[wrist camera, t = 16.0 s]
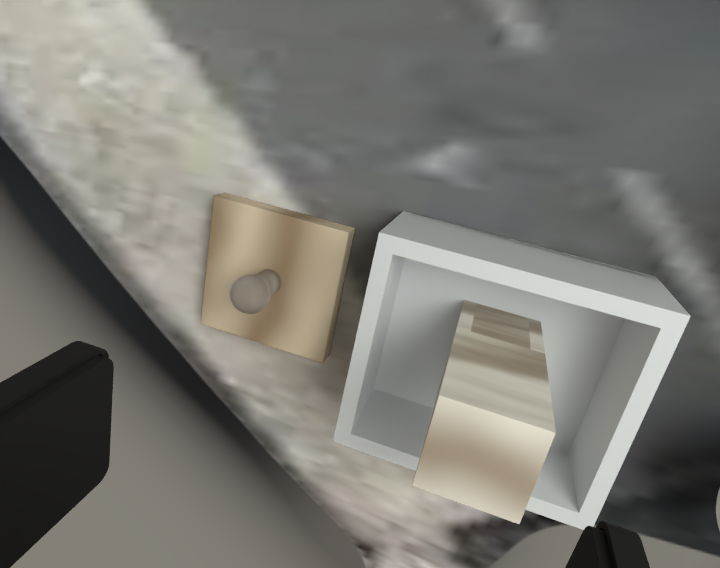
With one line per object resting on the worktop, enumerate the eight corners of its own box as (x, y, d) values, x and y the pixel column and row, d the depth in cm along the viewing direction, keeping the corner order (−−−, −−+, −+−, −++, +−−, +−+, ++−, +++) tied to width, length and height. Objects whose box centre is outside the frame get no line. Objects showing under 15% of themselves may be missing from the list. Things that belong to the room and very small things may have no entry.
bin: (361, 389, 40) (332, 441, 34) (403, 211, 35) (379, 232, 29) (577, 460, 37) (590, 532, 31) (655, 276, 32) (690, 316, 26)
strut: (464, 299, 35) (439, 395, 23) (540, 321, 34) (556, 432, 22) (445, 365, 37) (412, 485, 25) (517, 387, 36) (519, 524, 24)
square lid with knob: (210, 316, 42) (166, 346, 37) (224, 192, 38) (178, 205, 33) (329, 354, 40) (301, 391, 35) (355, 228, 37) (328, 247, 31)
